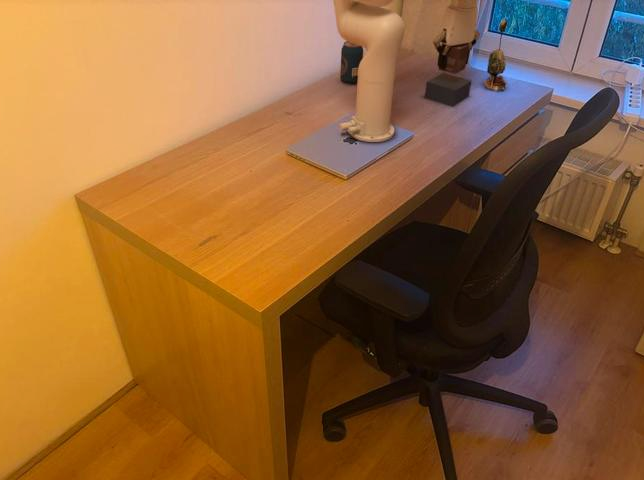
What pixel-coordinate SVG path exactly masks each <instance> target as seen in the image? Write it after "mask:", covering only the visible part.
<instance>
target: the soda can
mask: <svg viewBox="0 0 644 480" xmlns="http://www.w3.org/2000/svg"><path fill="white" fill-rule="evenodd" d="M340 50H341V51H340V53H341V56H340V72H339V73H340V74H339V79H340V80H341V82H342V83H343V84H344V85H348V86H354V85H357V83H358V68H359V64H360V62H361V60H362V59H363V57H364V47H362V46H359V45H356V44H353V43H351V42H348V41H346V40H345V42H343V45H342V46H341V49H340Z"/></svg>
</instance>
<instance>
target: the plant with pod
mask: <svg viewBox="0 0 644 480" xmlns="http://www.w3.org/2000/svg"><path fill="white" fill-rule="evenodd" d="M507 25H508V18H503V19H502V21H501V22H500V23H499V25H498V30H499V32H500V37H499V38H500V39H499V48H497V49H494V50H492V51H491V50H489V51H491V52H490V54H489V57H488V63H487V69H486V72H487V74H489V76H490V77H488V78H487V79H485V80H484V81H482V83H483V85H484V87H485V88H486V89H488V90H491V91H498V92H499V91H504V90H505V89H506V88H507V87H508V83H507V81H505V80H504V76H503V75H502V74H504V72H505V71H506V65H507V63H506V56H505V54H504V51H503V50H501V45H502V36H503V33H504V32H505V31H506V28H507Z"/></svg>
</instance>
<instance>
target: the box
mask: <svg viewBox="0 0 644 480" xmlns="http://www.w3.org/2000/svg"><path fill="white" fill-rule="evenodd" d="M445 47H446V45H445V46H444V48H443V49H445ZM468 50H469V44H461V45H455V46H451V47H450V48H449V50H448V52H447V53H446V55H447V62H446V68H445V69H442V68H440V67H439V66H438V70H439V71H443V72H445V73H449V74H452V75H457V74H458V73H460V72H462V71H464V70H465V69H466V65H467V64H466V61H467V56H468Z"/></svg>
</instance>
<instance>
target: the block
mask: <svg viewBox="0 0 644 480" xmlns="http://www.w3.org/2000/svg"><path fill="white" fill-rule="evenodd" d="M471 87H472V80H471V79H467V78H464V77H460V76H456V75H454V74H451V73H447V72H441V73H440V74H438V75H436V76H433V78H431V79H429V80H427V81H426V84H425V91H424V99H428V100H431V101H433V102H434V101H436V102H439V103H441V104H444V105H446V106H451V107H455V106H456V105H457V104H460V103H461V102H462V101H464V100H465V99H467V98H469V96H470V91H471Z"/></svg>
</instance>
